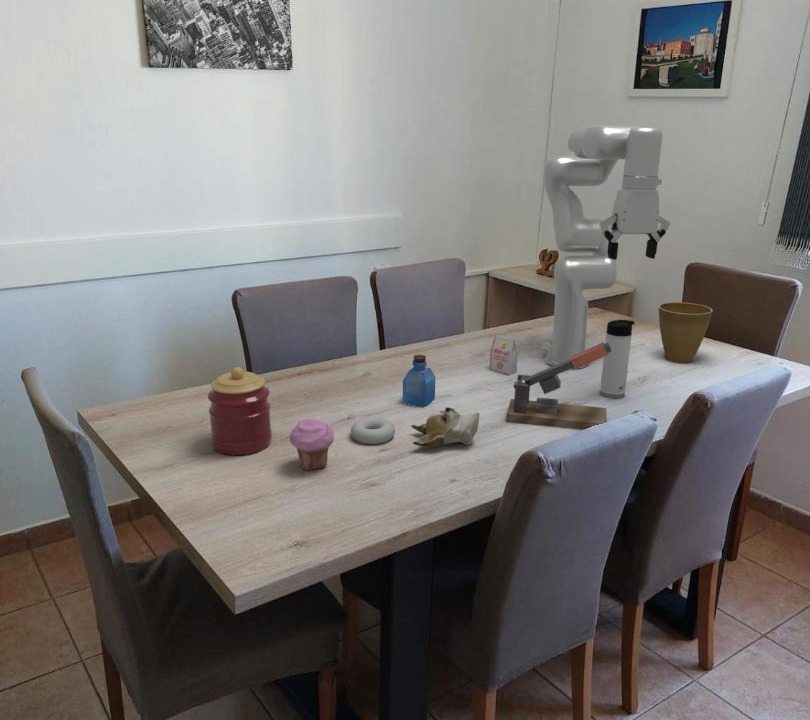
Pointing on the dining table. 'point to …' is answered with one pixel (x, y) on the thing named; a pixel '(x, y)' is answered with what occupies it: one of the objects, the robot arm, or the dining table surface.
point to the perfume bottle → (419, 384)
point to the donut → (372, 430)
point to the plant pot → (683, 329)
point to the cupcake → (312, 442)
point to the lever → (565, 368)
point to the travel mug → (616, 358)
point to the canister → (239, 413)
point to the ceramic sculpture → (447, 428)
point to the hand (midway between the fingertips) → (631, 258)
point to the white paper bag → (503, 356)
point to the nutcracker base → (562, 416)
